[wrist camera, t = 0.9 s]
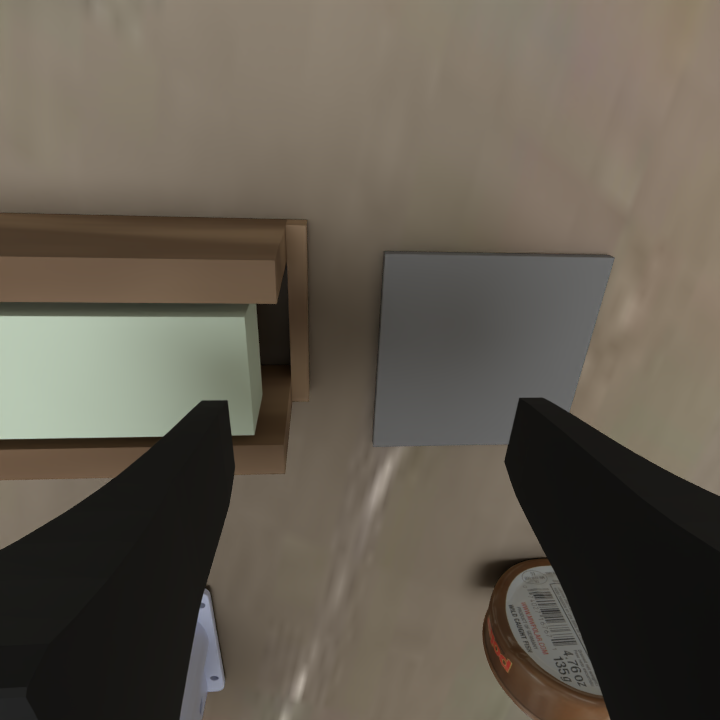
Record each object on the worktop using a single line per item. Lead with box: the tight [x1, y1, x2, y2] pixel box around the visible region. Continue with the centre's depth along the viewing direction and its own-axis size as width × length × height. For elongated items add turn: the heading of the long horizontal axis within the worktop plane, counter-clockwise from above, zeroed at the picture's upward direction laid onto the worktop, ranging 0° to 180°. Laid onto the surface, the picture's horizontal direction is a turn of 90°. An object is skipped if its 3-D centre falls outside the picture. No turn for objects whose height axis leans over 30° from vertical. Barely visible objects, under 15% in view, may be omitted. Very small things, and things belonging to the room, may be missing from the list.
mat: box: [372, 251, 614, 447], centre depth 20 cm, size 9×9×1 cm
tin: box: [483, 559, 610, 720], centre depth 24 cm, size 15×3×8 cm, turn 88°
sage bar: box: [0, 302, 263, 439], centre depth 14 cm, size 4×10×2 cm, turn 88°
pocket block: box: [0, 213, 310, 480], centre depth 16 cm, size 7×13×5 cm, turn 88°
